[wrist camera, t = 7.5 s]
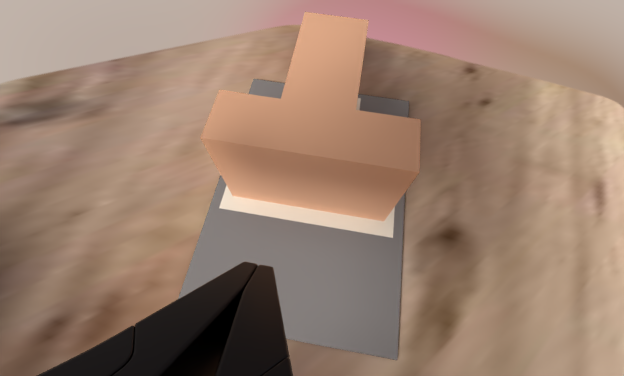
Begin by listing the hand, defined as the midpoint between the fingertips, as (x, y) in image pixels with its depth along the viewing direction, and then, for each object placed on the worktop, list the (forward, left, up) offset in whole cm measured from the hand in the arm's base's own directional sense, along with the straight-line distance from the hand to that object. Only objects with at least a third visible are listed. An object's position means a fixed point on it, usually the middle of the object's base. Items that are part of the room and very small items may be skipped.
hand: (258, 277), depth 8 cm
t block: (+9, -9, -13) cm, 19 cm away
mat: (+6, -6, -14) cm, 16 cm away
